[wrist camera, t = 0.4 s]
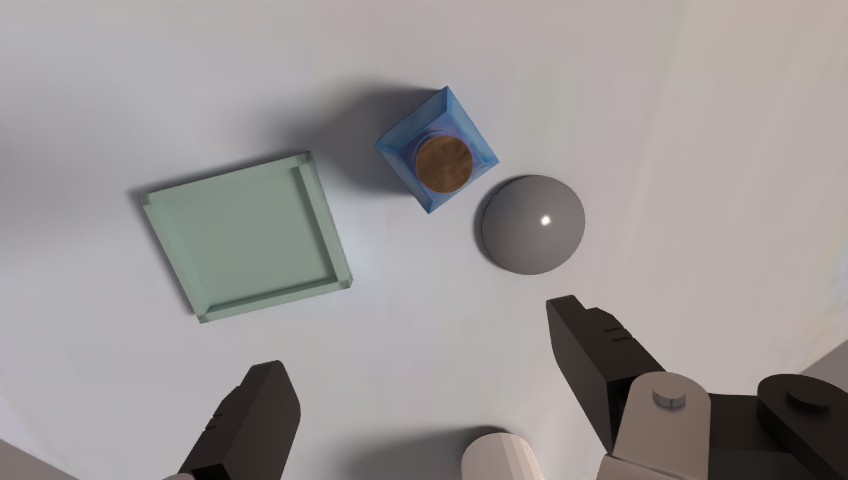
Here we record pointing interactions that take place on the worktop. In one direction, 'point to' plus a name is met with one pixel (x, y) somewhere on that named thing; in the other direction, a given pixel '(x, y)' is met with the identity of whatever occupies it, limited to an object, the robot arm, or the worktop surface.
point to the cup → (500, 459)
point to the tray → (250, 237)
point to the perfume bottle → (437, 150)
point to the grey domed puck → (533, 225)
